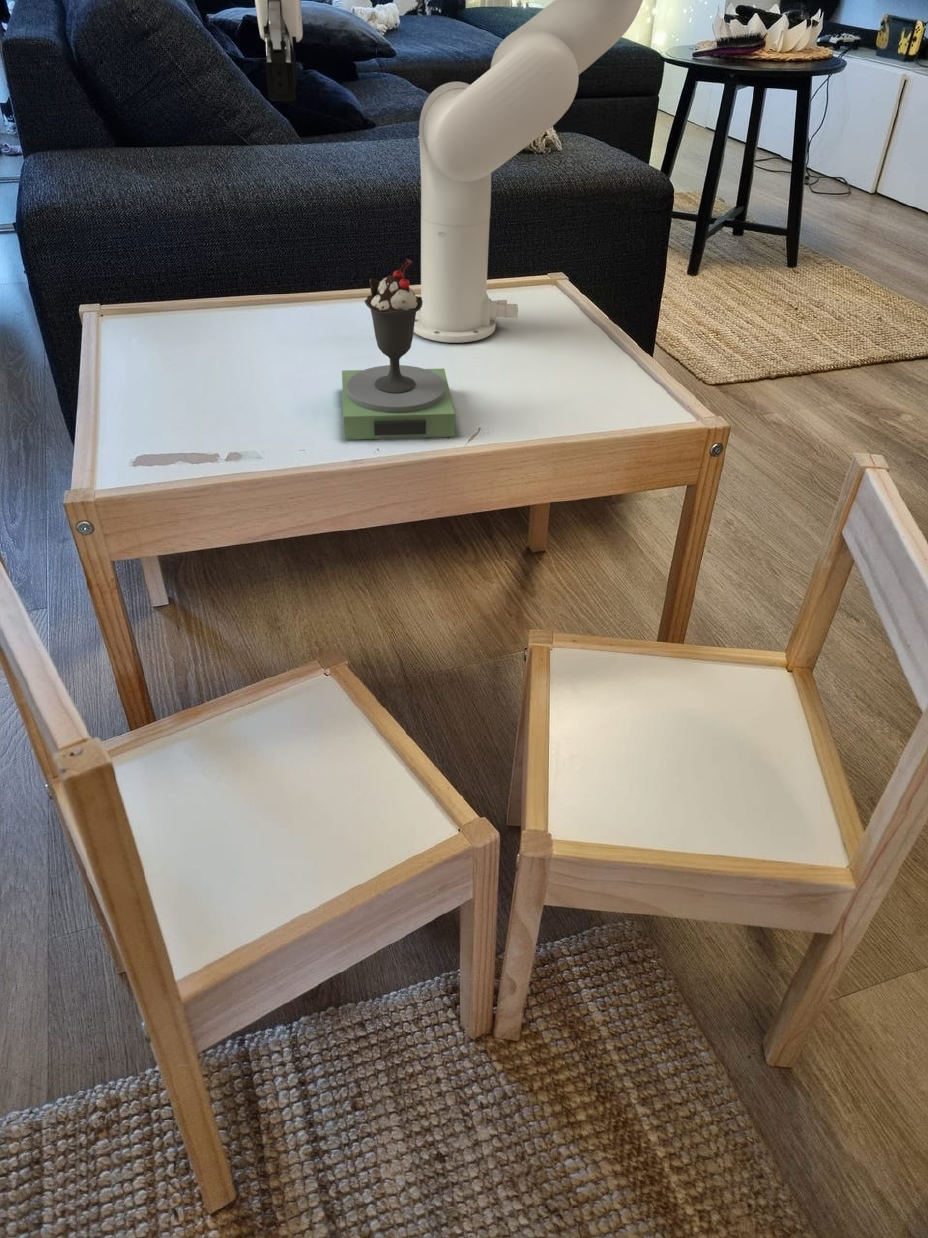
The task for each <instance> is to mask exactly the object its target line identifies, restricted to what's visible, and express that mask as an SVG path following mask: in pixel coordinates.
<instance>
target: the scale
mask: <svg viewBox="0 0 928 1238" xmlns="http://www.w3.org/2000/svg"><path fill="white" fill-rule="evenodd" d="M399 367H400V373H401V375H403V376H407V377H409V378H411V379H413V380H414V382H415V387H414V388H413V389H412V390H410V391H407V392H403V393H387V392H383V391H381V390H379V389H377V388H376V387H375V382H376V380H377V379H378V378H380V377H383V376H388V374H389V371H390V364H389V365H379V366H373V367H370V368H366V369H354V370H353V369H352V370H351V369H347V370H346V369H345V370H344V369H343V370H341V384H342V385H341V387H342V388H341V389H342V390H341V391H342V414H343V416H342V417H343V434H344V435H343V436H344V440H345V441H349V440H350V441H351V440H352V441H353V440H381V439H385V440H387V439H423V438H453V437H454V438H455V437H456V411H455V406H454V402H453V399H452V394H451V391H450V386H449V382H448V377H447V375H446V370H445V368H422V367H419V366H414V365H405V364H404V365H403V364H399Z"/></svg>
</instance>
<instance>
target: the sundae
mask: <svg viewBox="0 0 928 1238" xmlns="http://www.w3.org/2000/svg"><path fill="white" fill-rule="evenodd" d="M412 264H413V260H411V259H409V258H406V261H405V263H403V264H402V266H401V267H400V268H399V269H398V270H394V272H393V273H392V274H391V275H388V276H386V277H384V278H383V279H381V280H377V279H376V278H369V289H370V294H371V295H367V297H366V298H365V300H364V301H363V302H364V305H366V307H367V308H368V309H370V313H371V318H372V324H373V330H374V336H375V341H376V344H377V348H378V349H379V350H380V352H381V353H382V354H383V355H385V356H386V357H388V359H389V365H390V371H389V374H388V376H383V377H380V378H378V379H377V380H376V382H375V387H376V388H377V389H379V390H381V391H383V392H387V393H403V392H407V391H410V390H412V389H413V388H414V387H415V382H414V380H413V379H411V378H409V377H407V376H403V375H401V373H400V367H399V365H400V359H402V357H403V356H405V355H406V354H407V353H408V352H409V351H410V349H411V348H412V343H413V339H414V333H415V332H414V323H415V316H416V312H417V311H419V310H421V307H422V303H423V301H422V298H421V296H417V295H416V294H415V292H414V291H413V289H412V288H410V286H411V284H410V283H411V282H410V280H409V279H407V278H406V276H405V273H406V272H405V271H406V269H407V268H408V267H409V265H412ZM404 266H405V267H404ZM402 269H403V270H402Z"/></svg>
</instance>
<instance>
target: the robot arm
mask: <svg viewBox="0 0 928 1238" xmlns="http://www.w3.org/2000/svg"><path fill="white" fill-rule="evenodd" d="M643 2H644V0H552V1H551V2H550V3H549V4H548V5H547V6H545V7H543V9H541V10H540V11H538V13H536V14H535V15H534V16H532V17H530V19H529V20H527V21H526V22H525V23H524V24H522V25H521V26H519V27H518V28H517V29H516V30H514V31H513V32H511V33H510V34H508V35H506V37H505V38H504V39H503V40H502V41H501V42H500V43H499V45H498V46H497V48H495V50H494V53H493V56H492V59H491V63H490V68H489V69H488V70H486V72H484V73H483V74H482V75H481V76H480V77H478V78H477V79H476V80H475V81H473V82H472V83H471V84H470V83H467V82H463V81H450V82H446V83H443V84H441V85H439V86H438V87H436V88H435V89H434V90H433V91H431V93H430V94H429V95H428V97H427V98H426V100H425V101H424V103H423V106H422V109H421V111H420V117H419V122H418V123H419V125H418V141H419V162H420V164H419V165H420V297H421V298H422V301H423V303H422V307H421V309H420V310H419V311H417V312H416V316H415V323H414V332H413V333H415V334H416V335H418V336H420V337H421V338H424V339H427V340H431V341H435V342H441V343H448V344H449V343H452V344H453V343H454V344H460V343H470V342H476V341H480V340H483V339H485V338H488V337H489V336H492V335H493V333H494V332H495V331H496V324H497V321H496V320H497V318H505V319H509V318H510V319H511V318H512V319H516V318H518V316H519V306H518V303H508V301H507V299H497V300H492V299H491V298H490V297H489V295H488V292H487V291H488V290H487V289H488V288H487V286H488V267H489V245H490V243H489V242H490V223H491V221H490V219H491V206H492V205H491V204H492V173H493V172H494V171H496V170H497V169H499V168H500V167H502V166H503V165H504V164H506V162H508V161H510V159H512V158H513V157H515V156H516V155H517V154H519V153H520V152H521V151H522V150H523V149H525V148H526V147H528V146H529V145H530V144H531V143H533V142H535V140H537V139H539V138H540V137H541V136H542V135H543V134H545V133H546V132H547V131H548V130H550V129H551V128H552V127H554V125H555V124H557V123H558V122H559V121H560V120H561V119H562V118H563V116H564V115H565V113H567V112H568V110H569V109H570V107H571V105H572V103H573V102H574V100H575V98H576V94H577V92H578V88H579V78H580V77H579V76H580V75H581V74H582V73H583V72H584V71H586V70H587V69H588V68H590V66H591V65H593V64H594V63H595V62H596V61H597V60H598V59H600V58H601V57H602V56H603V55H604V54H606V53H607V52H608V51H609V50H611V48H612V47H613V46H615V44H617V42H618V41H620V39H621V38H622V37H623V36H624V35H625V34H626V33H627V31H628V30H629V29H630V27H631V26H632V24H633V23H634V21H635V19H636V18H637V15H638V13H639V11H640V9H641V6H642V4H643ZM254 4H255V11H256V17H257V24H258V31H259V36H260V39H262V41H264V42H265V52H266V61H265V73H266V84H267V85H266V86H267V94H268V100H269V101H271V102H294V101H295V100H296V97H297V96H296V87H297V86H298V73H297V58H296V50H294V42H293V38H295V40H296V41H295V42H296V43H299V42H301V40H302V39H303V36H304V35H303V34H304V30H303V15H302V1H301V0H254Z"/></svg>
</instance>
